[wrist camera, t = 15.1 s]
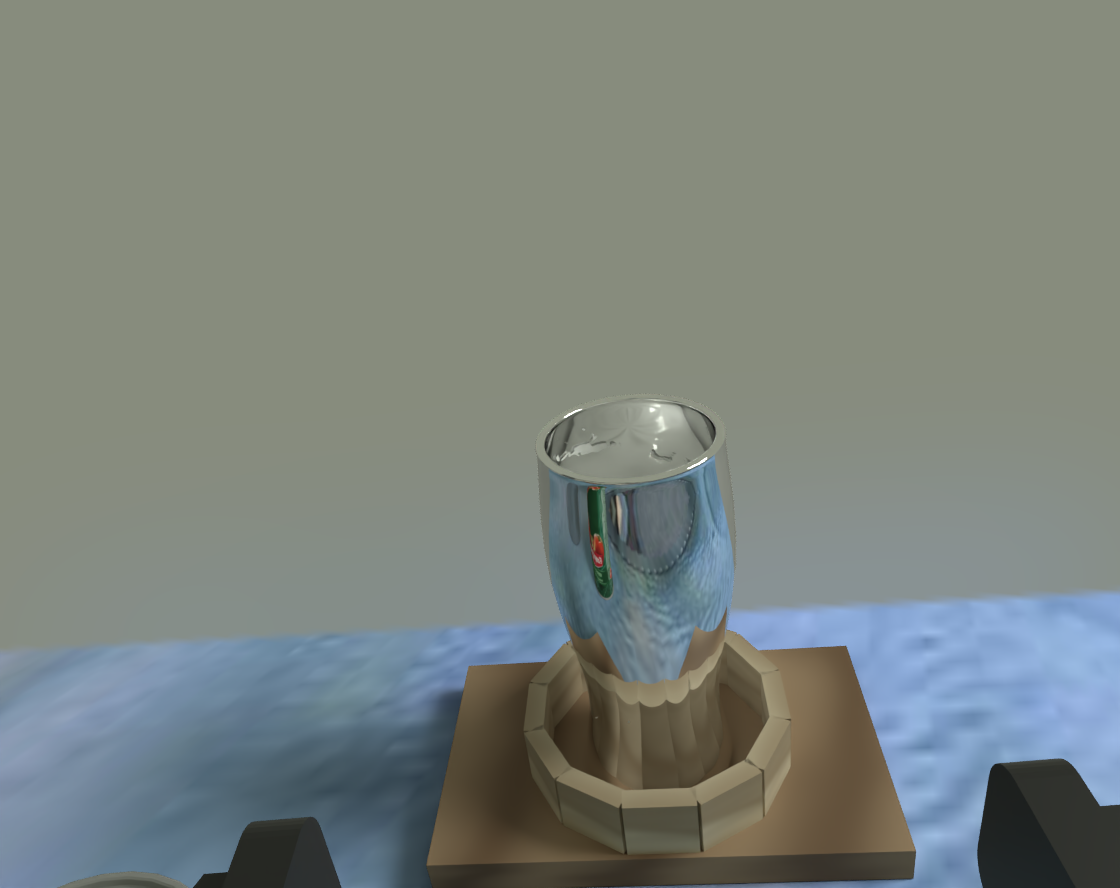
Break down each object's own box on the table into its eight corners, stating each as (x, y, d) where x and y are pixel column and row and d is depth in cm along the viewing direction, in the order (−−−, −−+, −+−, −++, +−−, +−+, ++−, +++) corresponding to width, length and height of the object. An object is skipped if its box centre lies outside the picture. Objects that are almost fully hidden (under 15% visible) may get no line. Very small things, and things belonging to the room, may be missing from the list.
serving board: (433, 891, 34) (413, 820, 33) (473, 689, 44) (459, 625, 42) (913, 878, 33) (920, 802, 31) (845, 670, 42) (847, 603, 40)
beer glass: (601, 681, 41) (563, 388, 35) (753, 701, 39) (745, 392, 32) (555, 801, 36) (499, 479, 29) (729, 833, 33) (714, 491, 27)
